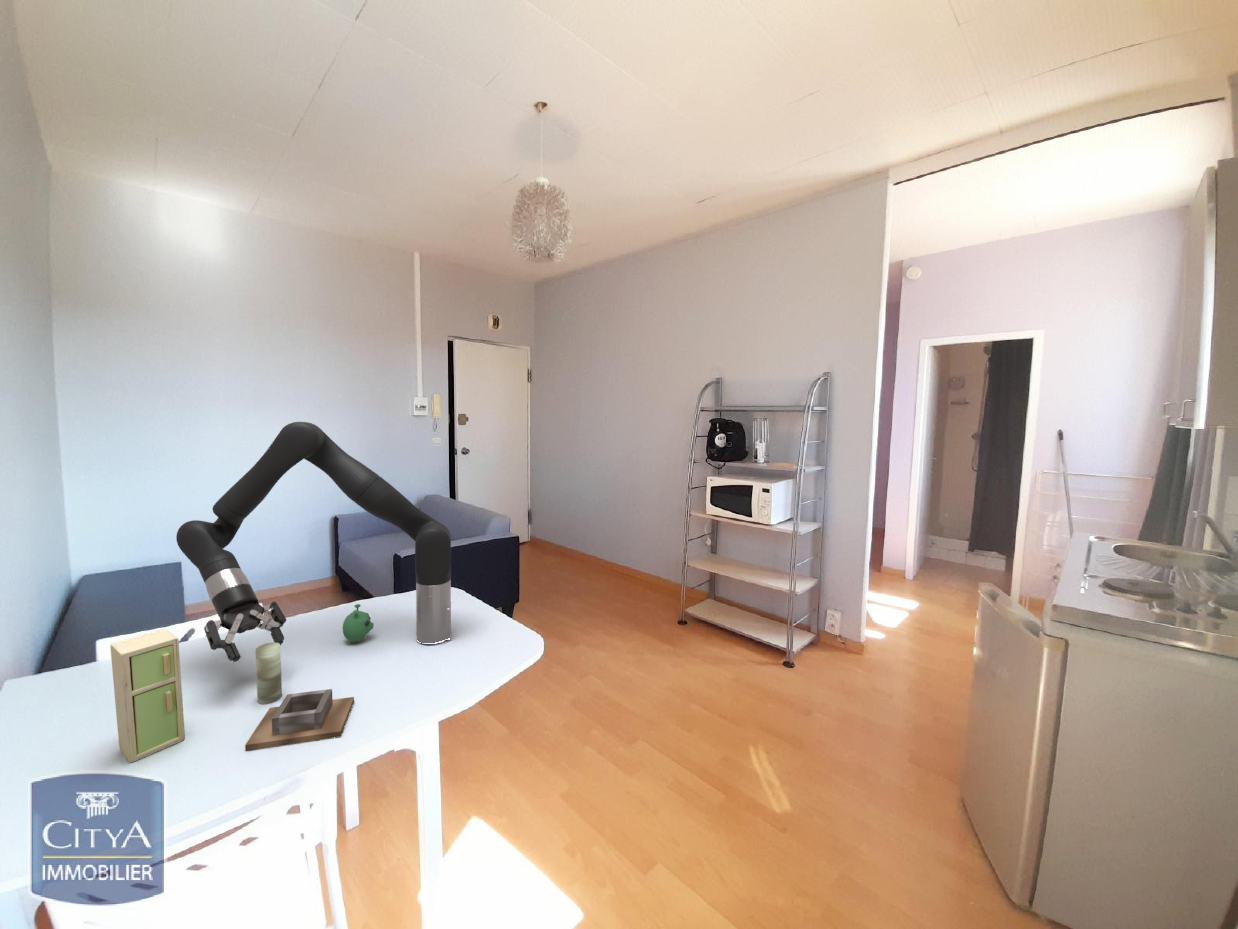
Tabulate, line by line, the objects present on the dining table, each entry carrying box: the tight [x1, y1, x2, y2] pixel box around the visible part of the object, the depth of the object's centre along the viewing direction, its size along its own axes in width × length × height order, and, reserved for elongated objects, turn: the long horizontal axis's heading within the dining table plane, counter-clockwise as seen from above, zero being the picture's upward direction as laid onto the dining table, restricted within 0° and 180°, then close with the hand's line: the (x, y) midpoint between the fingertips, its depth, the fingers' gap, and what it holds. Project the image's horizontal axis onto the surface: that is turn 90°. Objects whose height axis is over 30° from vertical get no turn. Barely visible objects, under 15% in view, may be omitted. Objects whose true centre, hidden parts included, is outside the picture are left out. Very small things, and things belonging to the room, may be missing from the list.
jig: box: [244, 688, 355, 752], centre depth 98 cm, size 16×12×5 cm
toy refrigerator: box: [110, 628, 186, 764], centre depth 90 cm, size 8×7×21 cm
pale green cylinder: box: [255, 642, 283, 705], centre depth 106 cm, size 4×4×12 cm
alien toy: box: [342, 603, 375, 643], centre depth 134 cm, size 7×8×10 cm
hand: (259, 652), depth 107 cm, fingers open, 8 cm apart
